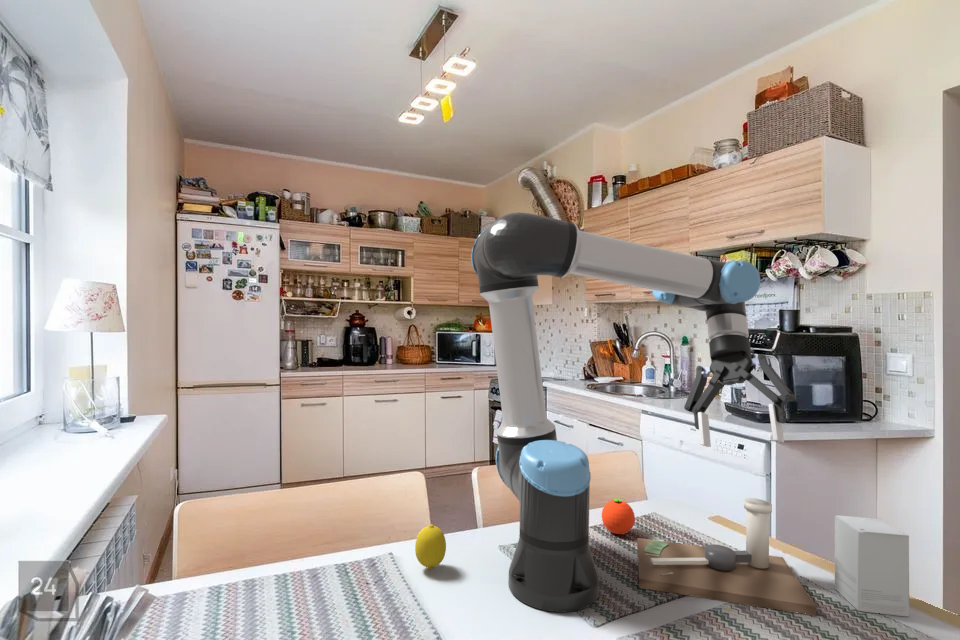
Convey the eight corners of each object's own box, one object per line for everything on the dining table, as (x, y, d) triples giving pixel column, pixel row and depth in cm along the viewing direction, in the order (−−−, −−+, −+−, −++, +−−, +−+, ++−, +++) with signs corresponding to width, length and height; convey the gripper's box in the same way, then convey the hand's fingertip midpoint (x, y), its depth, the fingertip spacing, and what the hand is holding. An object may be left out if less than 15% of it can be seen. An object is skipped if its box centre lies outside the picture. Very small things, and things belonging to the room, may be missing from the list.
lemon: (409, 573, 87) (410, 527, 87) (424, 559, 92) (424, 516, 92) (437, 579, 84) (437, 533, 85) (450, 565, 90) (451, 521, 90)
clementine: (598, 523, 110) (598, 492, 110) (630, 525, 109) (630, 493, 109) (603, 539, 102) (604, 504, 102) (638, 540, 101) (638, 506, 101)
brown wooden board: (639, 587, 83) (639, 577, 83) (637, 545, 99) (637, 536, 99) (816, 616, 75) (816, 605, 75) (782, 565, 92) (782, 556, 92)
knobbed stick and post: (657, 571, 85) (658, 508, 85) (646, 558, 90) (647, 498, 90) (778, 570, 86) (778, 507, 86) (760, 556, 91) (760, 497, 91)
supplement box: (911, 618, 75) (911, 535, 75) (856, 611, 77) (857, 531, 77) (882, 592, 83) (882, 517, 83) (832, 587, 84) (833, 513, 84)
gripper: (803, 331, 94) (822, 442, 86) (682, 356, 112) (689, 450, 104) (786, 318, 90) (805, 434, 81) (664, 347, 108) (669, 444, 100)
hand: (740, 443), depth 93 cm, fingers open, 13 cm apart
